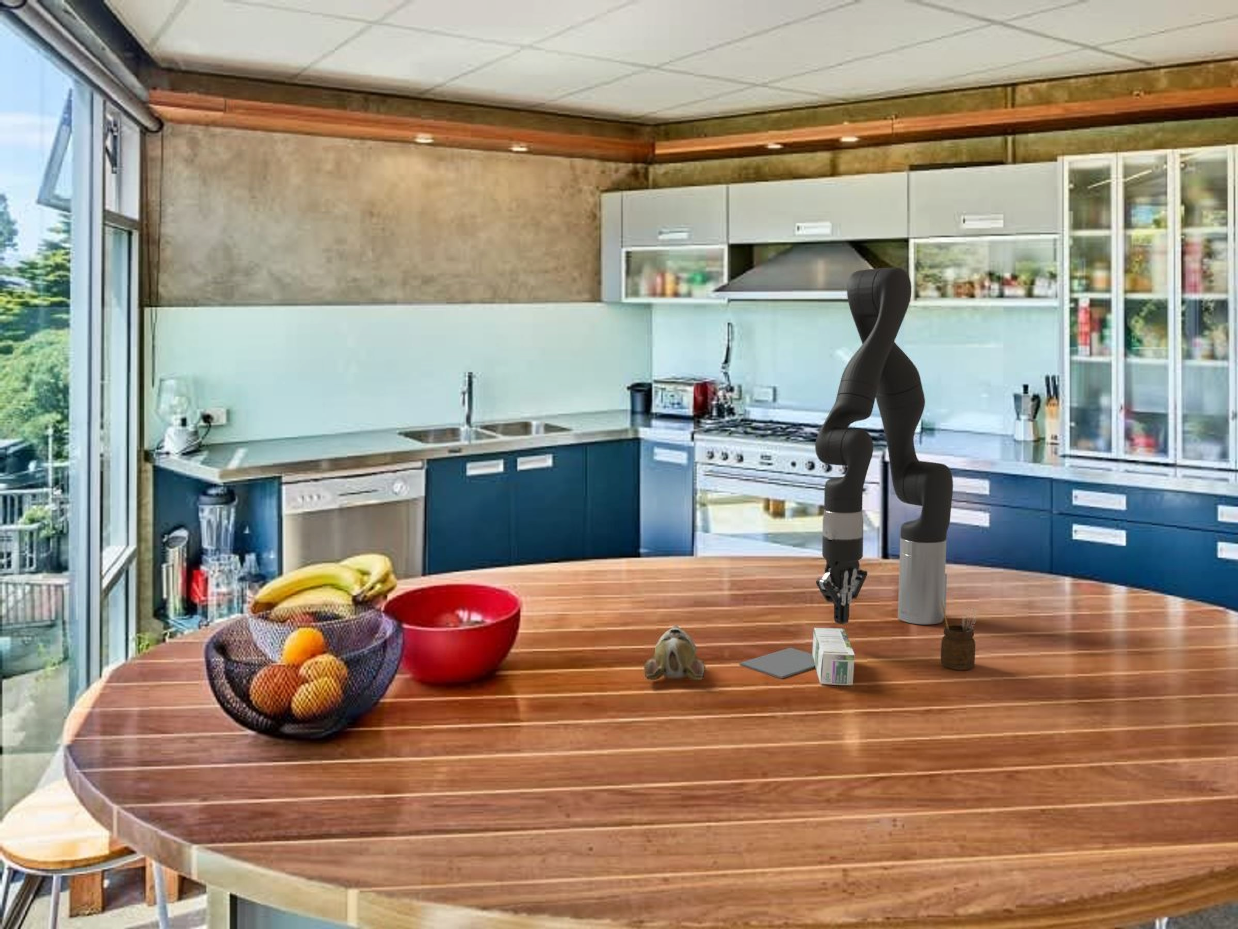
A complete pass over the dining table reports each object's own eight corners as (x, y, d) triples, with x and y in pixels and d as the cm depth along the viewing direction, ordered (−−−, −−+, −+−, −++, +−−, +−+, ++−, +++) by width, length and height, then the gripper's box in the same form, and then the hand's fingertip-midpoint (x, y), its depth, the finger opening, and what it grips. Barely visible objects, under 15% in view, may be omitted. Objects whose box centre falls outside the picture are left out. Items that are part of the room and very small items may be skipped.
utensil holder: (976, 672, 191) (979, 606, 189) (939, 669, 192) (942, 605, 191) (972, 661, 197) (975, 598, 195) (937, 659, 198) (939, 596, 196)
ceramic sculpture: (705, 616, 196) (705, 646, 181) (705, 661, 197) (705, 694, 183) (646, 616, 196) (642, 645, 182) (647, 660, 198) (643, 693, 184)
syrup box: (842, 657, 198) (855, 686, 184) (810, 656, 199) (820, 685, 184) (844, 628, 197) (856, 654, 183) (812, 626, 198) (822, 653, 183)
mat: (790, 649, 204) (790, 647, 204) (832, 662, 197) (832, 660, 197) (739, 665, 196) (739, 662, 195) (781, 678, 188) (781, 676, 188)
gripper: (848, 525, 209) (847, 612, 211) (804, 535, 200) (803, 625, 203) (880, 531, 203) (878, 620, 205) (836, 541, 195) (834, 634, 197)
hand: (841, 622), depth 204 cm, fingers closed
